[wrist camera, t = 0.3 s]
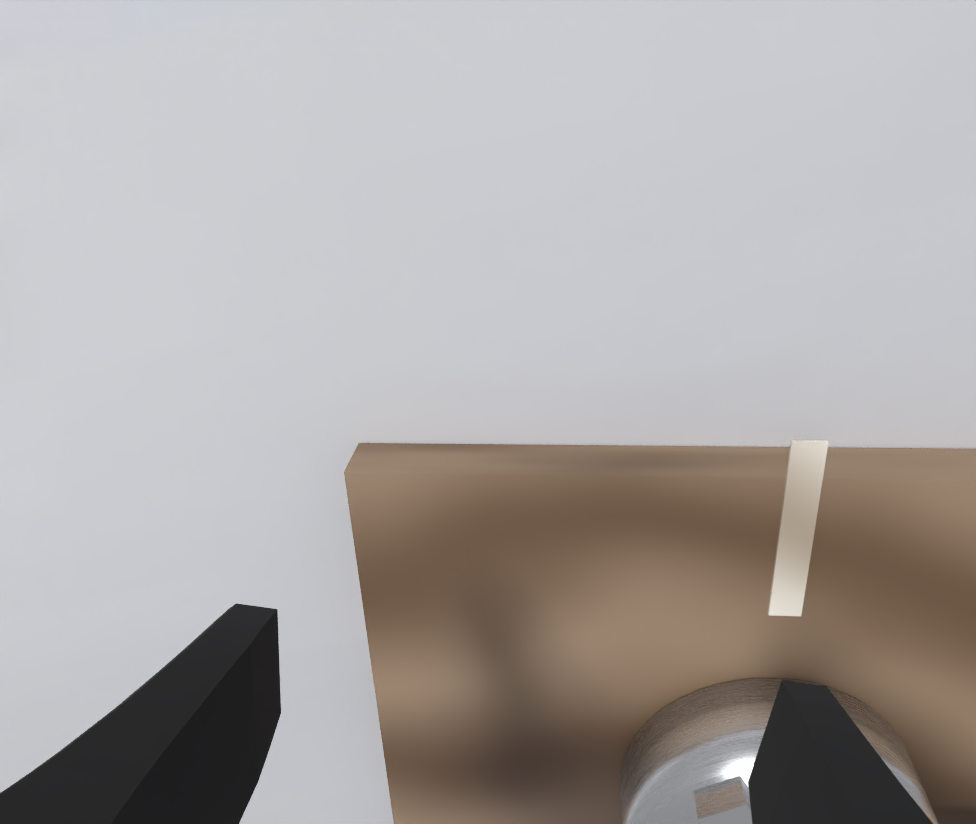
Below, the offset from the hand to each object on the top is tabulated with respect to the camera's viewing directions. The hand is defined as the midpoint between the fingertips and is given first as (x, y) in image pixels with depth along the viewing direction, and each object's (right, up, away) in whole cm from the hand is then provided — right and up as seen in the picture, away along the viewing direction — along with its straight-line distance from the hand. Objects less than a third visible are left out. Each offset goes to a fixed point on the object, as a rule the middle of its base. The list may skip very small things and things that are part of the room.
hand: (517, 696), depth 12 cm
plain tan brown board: (+8, -6, +13) cm, 16 cm away
